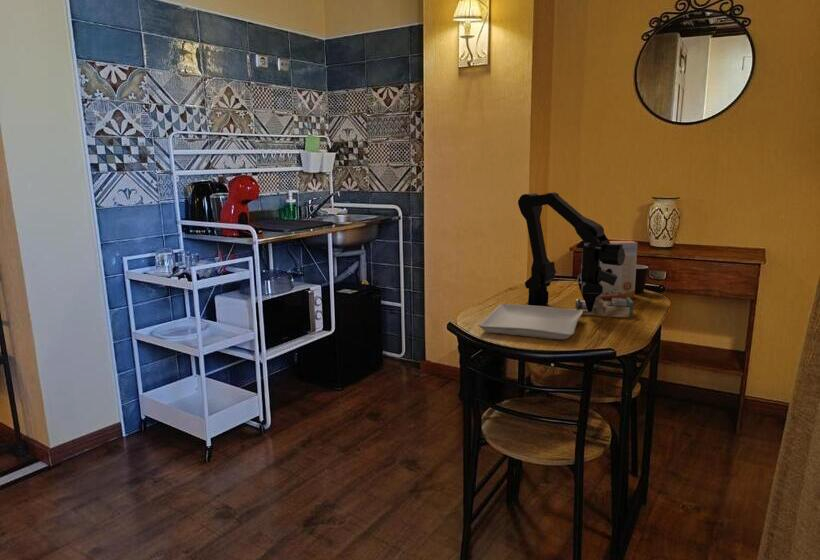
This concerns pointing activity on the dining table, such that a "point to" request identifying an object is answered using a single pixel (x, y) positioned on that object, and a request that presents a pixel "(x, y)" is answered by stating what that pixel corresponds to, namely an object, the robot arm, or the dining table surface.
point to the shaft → (582, 305)
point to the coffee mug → (640, 278)
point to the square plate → (532, 321)
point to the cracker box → (622, 273)
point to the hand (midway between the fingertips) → (588, 308)
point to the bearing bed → (611, 309)
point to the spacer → (619, 302)
